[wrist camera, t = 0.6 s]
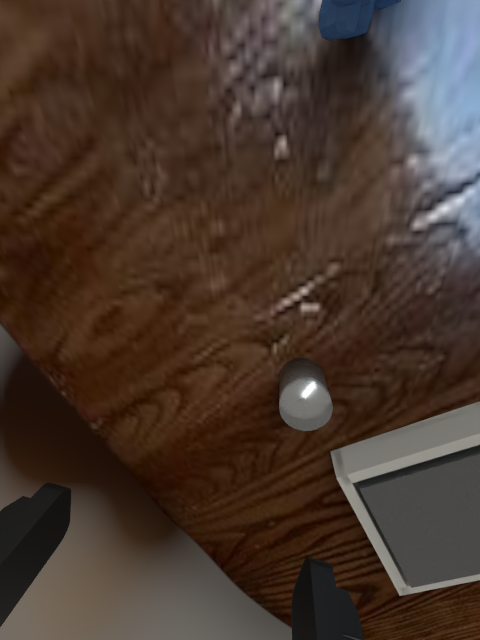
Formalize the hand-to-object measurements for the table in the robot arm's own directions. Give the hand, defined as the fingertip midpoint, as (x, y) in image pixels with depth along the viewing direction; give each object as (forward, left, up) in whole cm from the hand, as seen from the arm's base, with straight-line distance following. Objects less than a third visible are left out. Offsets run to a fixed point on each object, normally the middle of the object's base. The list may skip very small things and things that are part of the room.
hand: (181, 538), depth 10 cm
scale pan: (-10, +27, -20) cm, 35 cm away
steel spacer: (-2, +8, -24) cm, 25 cm away
